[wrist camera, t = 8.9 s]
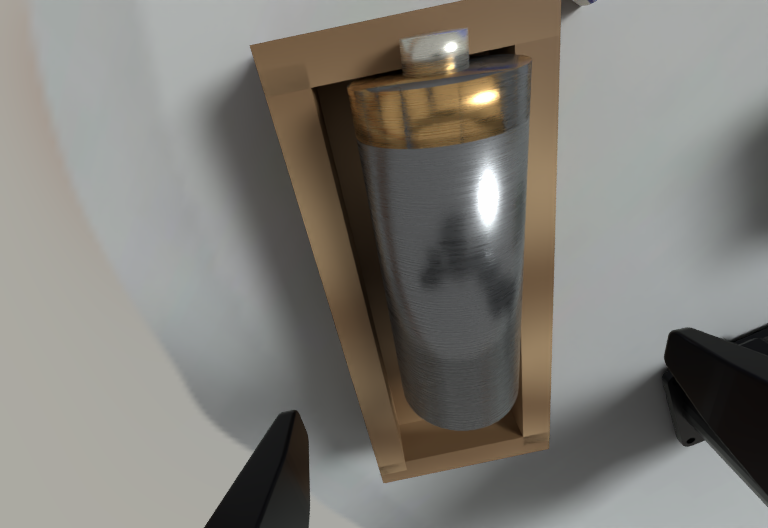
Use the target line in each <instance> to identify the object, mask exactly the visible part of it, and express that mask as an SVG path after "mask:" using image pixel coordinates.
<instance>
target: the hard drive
mask: <svg viewBox="0 0 768 528" xmlns="http://www.w3.org/2000/svg"><path fill="white" fill-rule="evenodd" d="M572 1H574V2H575V3H577V4H578V5H579V6H585V5H589V4H591V3H594V2H596V1H597V0H572Z"/></svg>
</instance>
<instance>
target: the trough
mask: <svg viewBox="0 0 768 528" xmlns="http://www.w3.org/2000/svg"><path fill="white" fill-rule="evenodd" d="M456 28H468V41H469V57H470V56H481V55H497V54H516V55H525V56H529V57H531V58H532V74H531V99H530V123H529V147H528V171H527V196H526V220H525V244H524V268H523V292H522V317H521V341H520V365H519V389H518V395H517V399H516V401H515V403H514V405H513V407H512V408H511V410H510V411H509V412H508V413H507V414H506V415H505V416H504V417H503V418H501V419H500V420H499V421H497V422H495V423H493V424H492V425H489V426H487V427H484V428H480V429H476V430H469V431H456V430H448V429H444V428H440V427H438V426H435V425H433V424H431V423H429V422H427V421H425V420H424V419H422V418H421V417H419V416H418V415H417V414H416V413H415V412H414V411H413V410H412V408H411V407H410V406H409V404H408V402H407V401H406V398H405V396H404V392H403V387H402V381H401V376H400V371H399V365H398V360H397V355H396V349H395V344H394V338H393V333H392V328H391V322H390V317H389V311H388V306H387V301H386V295H385V290H384V285H383V279H382V274H381V268H380V263H379V258H378V252H377V247H376V241H375V236H374V231H373V225H372V220H371V215H370V209H369V204H368V198H367V193H366V188H365V182H364V177H363V171H362V166H361V161H360V155H359V150H358V145H357V139H356V134H355V128H354V123H353V118H352V112H351V107H350V101H349V96H348V91H347V85H348V84H350V83H351V82H353V81H355V80H357V79H360V78H363V77H366V76H369V75H374V74H379V73H384V72H388V71H393V70H398V69H402V62H401V54H400V45H399V39H401V38H405V37H409V36H414V35H419V34H424V33H430V32H436V31H442V30H449V29H456ZM560 28H561V0H462V1H458V2H453V3H448V4H443V5H439V6H434V7H429V8H424V9H420V10H415V11H410V12H406V13H401V14H396V15H391V16H387V17H382V18H377V19H372V20H368V21H363V22H358V23H353V24H349V25H344V26H339V27H335V28H330V29H325V30H320V31H316V32H311V33H306V34H301V35H297V36H292V37H287V38H283V39H278V40H273V41H268V42H264V43H259V44H254V45H250V48H251V51H252V55H253V58H254V61H255V64H256V68H257V71H258V74H259V77H260V81H261V84H262V87H263V91H264V94H265V97H266V100H267V104H268V107H269V110H270V113H271V117H272V120H273V123H274V127H275V130H276V133H277V136H278V140H279V143H280V146H281V149H282V153H283V156H284V159H285V162H286V166H287V169H288V172H289V176H290V179H291V182H292V185H293V189H294V192H295V195H296V198H297V202H298V205H299V208H300V212H301V215H302V218H303V221H304V225H305V228H306V231H307V234H308V238H309V241H310V244H311V248H312V251H313V254H314V257H315V261H316V264H317V267H318V270H319V274H320V277H321V280H322V284H323V287H324V290H325V293H326V297H327V300H328V303H329V306H330V310H331V313H332V316H333V319H334V323H335V326H336V329H337V333H338V336H339V339H340V342H341V346H342V349H343V352H344V355H345V359H346V362H347V365H348V369H349V372H350V375H351V378H352V382H353V385H354V388H355V391H356V395H357V398H358V401H359V405H360V408H361V411H362V414H363V418H364V421H365V424H366V427H367V431H368V434H369V437H370V440H371V444H372V447H373V450H374V454H375V457H376V460H377V463H378V467H379V470H380V473H381V476H382V480H383V483H388V482H392V481H397V480H402V479H407V478H412V477H416V476H421V475H426V474H431V473H435V472H440V471H445V470H450V469H455V468H459V467H464V466H469V465H474V464H479V463H483V462H488V461H493V460H498V459H502V458H507V457H512V456H517V455H522V454H526V453H531V452H536V451H541V450H546V449H549V436H550V399H551V362H552V324H553V287H554V250H555V213H556V176H557V139H558V102H559V65H560Z"/></svg>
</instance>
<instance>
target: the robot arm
mask: <svg viewBox="0 0 768 528" xmlns="http://www.w3.org/2000/svg"><path fill="white" fill-rule="evenodd" d="M664 360H665V363H666V365H667V367H668V369H669V371H667V372H666V373H665V374H664V375H663V377H662V380H663V384H664V388H665V392H666V396H667V400H668V404H669V408H670V412H671V416H672V420H673V424H674V428H675V432H676V436H677V439H678V440H679V441H680V442H681V444H682V445H683V446H692V445H694V444H697V443H699V442H702V441H706V442H707V443H708V444H709V445H710V446H711V447H712V448H713V449H714V450H715V451H716V453H717V454H718V455H719V456H720V457H721V458H722V459H723V460H724V461H725V462H726V463H727V464H728V465H729V466H730V467H731V468H732V470H733V471H734V472H735V473H736V474H737V475H738V476H739V477H740V478H741V479H742V480H743V481H744V482H745V483H746V484H747V485H748V487H749V488H750V489H751V490H752V491H753V492H754V493H755V494H756V495H757V496H758V497H759V498H760V499H761V500H762V501H763V503H764V504H765V505H766V506H767V507H768V328H766V329H764V330H761V331H759V332H757V333H754V334H752V335H750V336H747V337H745V338H743V339H740V340H738V341H736V342H733V343H732V342H729V341H726V340H724V339H721V338H718V337H715V336H713V335H710V334H707V333H704V332H702V331H699V330H696V329H693V328H682V329H677V330H673V331H671V332H670V333H669V335H668V340H667V344H666V349H665V354H664ZM309 512H310V481H309V441H308V434H307V431H306V429H305V426H304V424H303V421H302V419H301V417H300V414H299V412H298V411H297V410H291V411H286V412H282V413H280V414H279V415H278V416H277V418H276V419H275V421H274V422H273V424H272V425H271V427H270V428H269V430H268V431H267V433H266V434H265V436H264V437H263V439H262V440H261V442H260V443H259V445H258V446H257V448H256V449H255V451H254V453H253V454H252V456H251V457H250V459H249V460H248V462H247V463H246V465H245V466H244V468H243V470H242V471H241V472H240V474H239V475H238V477H237V478H236V480H235V481H234V483H233V485H232V486H231V488H230V489H229V491H228V492H227V494H226V495H225V497H224V498H223V500H222V501H221V503H220V504H219V506H218V507H217V509H216V510H215V512H214V514H213V515H212V516H211V518H210V519H209V521H208V522H207V524H206V525H205V527H204V528H309V515H310V513H309Z"/></svg>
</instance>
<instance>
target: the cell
mask: <svg viewBox="0 0 768 528" xmlns="http://www.w3.org/2000/svg"><path fill="white" fill-rule="evenodd" d="M399 45H400V54H401V62H402V69H398V70H393V71H388V72H384V73H379V74H374V75H369V76H366V77H363V78H360V79H357V80H355V81H353V82H351V83H350V84H348V85H347V91H348V96H349V101H350V107H351V112H352V118H353V123H354V128H355V134H356V139H357V145H358V150H359V155H360V161H361V166H362V171H363V177H364V182H365V188H366V193H367V198H368V204H369V209H370V215H371V220H372V225H373V231H374V236H375V241H376V247H377V252H378V258H379V263H380V268H381V274H382V279H383V285H384V290H385V295H386V301H387V306H388V311H389V317H390V322H391V328H392V333H393V338H394V344H395V349H396V355H397V360H398V365H399V371H400V376H401V381H402V387H403V392H404V396H405V398H406V401H407V402H408V404H409V406H410V407H411V408H412V410H413V411H414V412H415V413H416V414H417V415H418V416H419V417H421V418H422V419H424V420H425V421H427V422H429V423H431V424H433V425H435V426H438V427H440V428H444V429H448V430H456V431H469V430H476V429H480V428H484V427H487V426H489V425H492V424H493V423H495V422H497V421H499V420H500V419H501V418H503V417H504V416H505V415H506V414H507V413H508V412H509V411H510V410H511V408H512V407H513V405H514V403H515V401H516V399H517V395H518V389H519V365H520V341H521V317H522V292H523V268H524V244H525V220H526V196H527V171H528V147H529V123H530V99H531V74H532V58H531V57H529V56H525V55H516V54H497V55H481V56H470V57H469V41H468V28H456V29H449V30H442V31H436V32H430V33H424V34H419V35H414V36H409V37H405V38H401V39H399Z"/></svg>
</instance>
